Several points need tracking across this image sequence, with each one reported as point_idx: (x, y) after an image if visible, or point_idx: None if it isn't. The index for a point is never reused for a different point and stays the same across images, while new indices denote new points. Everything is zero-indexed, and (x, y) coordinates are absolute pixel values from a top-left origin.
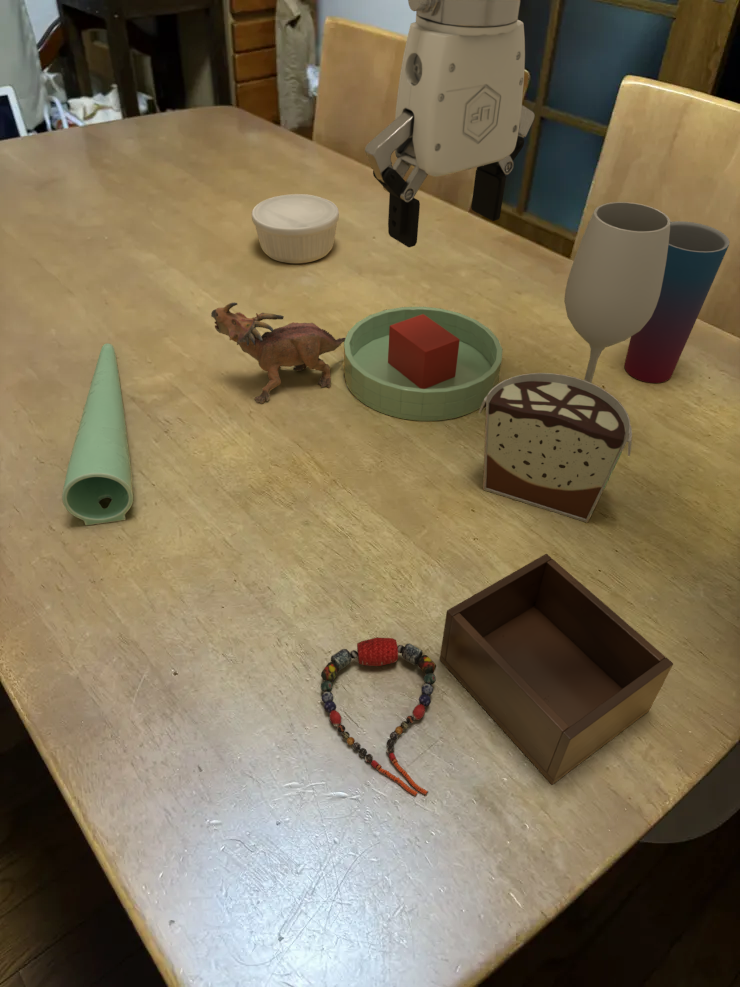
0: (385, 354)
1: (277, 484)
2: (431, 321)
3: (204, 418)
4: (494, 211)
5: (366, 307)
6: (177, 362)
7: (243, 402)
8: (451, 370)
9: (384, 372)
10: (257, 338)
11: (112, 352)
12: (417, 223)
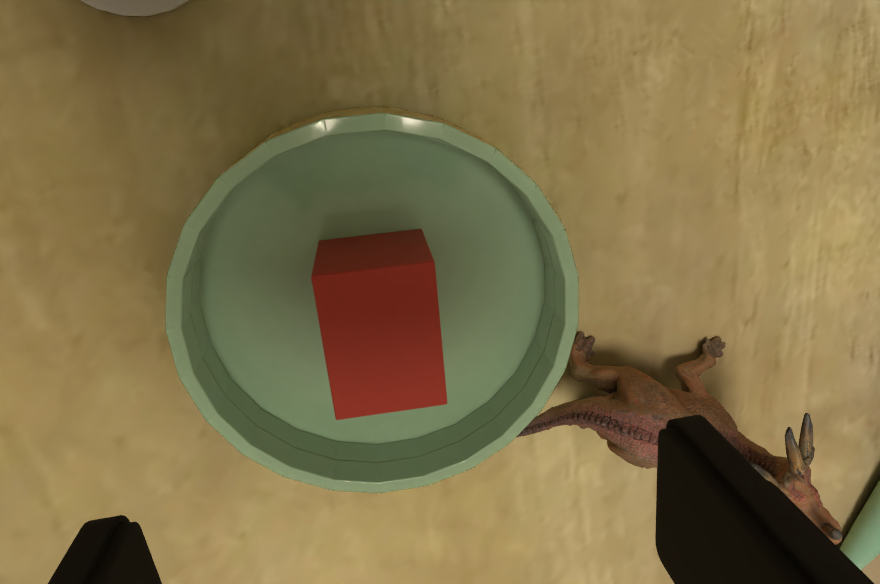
0: None
1: (838, 95)
2: (335, 381)
3: (820, 339)
4: (113, 555)
5: (350, 555)
6: None
7: (740, 355)
8: (332, 245)
9: (461, 323)
10: (744, 457)
11: (862, 549)
12: (738, 487)
